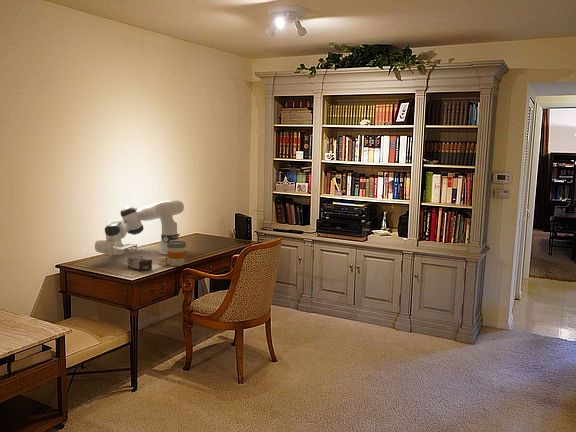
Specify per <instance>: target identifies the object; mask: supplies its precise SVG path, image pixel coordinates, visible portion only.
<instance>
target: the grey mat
mask: <svg viewBox="0 0 576 432" xmlns="http://www.w3.org/2000/svg"><path fill="white" fill-rule="evenodd" d="M162 267H164V265H158V264H153V263H152V269H150V270H149V271H155V270H158V269H160V268H162Z"/></svg>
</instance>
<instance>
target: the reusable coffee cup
mask: <svg viewBox="0 0 576 432" xmlns="http://www.w3.org/2000/svg"><path fill="white" fill-rule="evenodd" d="M186 247H187V242H186V241H184V240H180V241H171V242H167V248H168V251H167V252H168V254H167V259H168V260H169V265H170V266H172V267H182V266H184V264H185V258H186V252H187V248H186ZM185 249H186V250H185Z"/></svg>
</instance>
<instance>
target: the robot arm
mask: <svg viewBox="0 0 576 432" xmlns="http://www.w3.org/2000/svg"><path fill="white" fill-rule="evenodd" d="M184 210H185V205H184V203H183V202H182V201H181V200H177V199H170V200H163V201H160V202H157V203H153V204H149V205H145V206H143V207H141V208H139V209H138V208H137V207H133V206H126V207H124V208H122V209H121V210H120V213H119V214H120V216H121V218H122V220H118V221H113V222H111V223H110V224H107V225H106V226H105V228H104V233H105V240H104V239H103V240H96V241H95V242H94V250H95V252H97V253H99V254H107V255H109V256H121V255H124V254H127V253H131V252H137V251H138V244H137V243H125V244H123V242H122V239H124V238H125V237H127V235H128V234H130V235H133V236H134V235H139V234H141V233H142V232H144V229H145V228H144V225H143V224H142V221H153V220H157V219H160V223H161V234H160V238H161V240H159V250H157V252H158V253H159V254H161V255H168V252H167V251H168V248H167V242H171V241H181V240H180V239H179V237H180V235H181V233H178V223H177V222H176V221H175V220H174V218H173V216H176V215H179V214H182V213H183V212H184ZM185 250H186V251H187V248H185Z"/></svg>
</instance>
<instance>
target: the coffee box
mask: <svg viewBox="0 0 576 432" xmlns="http://www.w3.org/2000/svg"><path fill="white" fill-rule="evenodd" d="M152 261H153V259H150V258H147V257H144V256H142V255H137V256H136V255H135V256H128V257H127V261H126V262H127V267H128V268H130V269H133V270H135V271H137V272H144V271H151V270H150V269H152V264H153V262H152Z"/></svg>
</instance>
